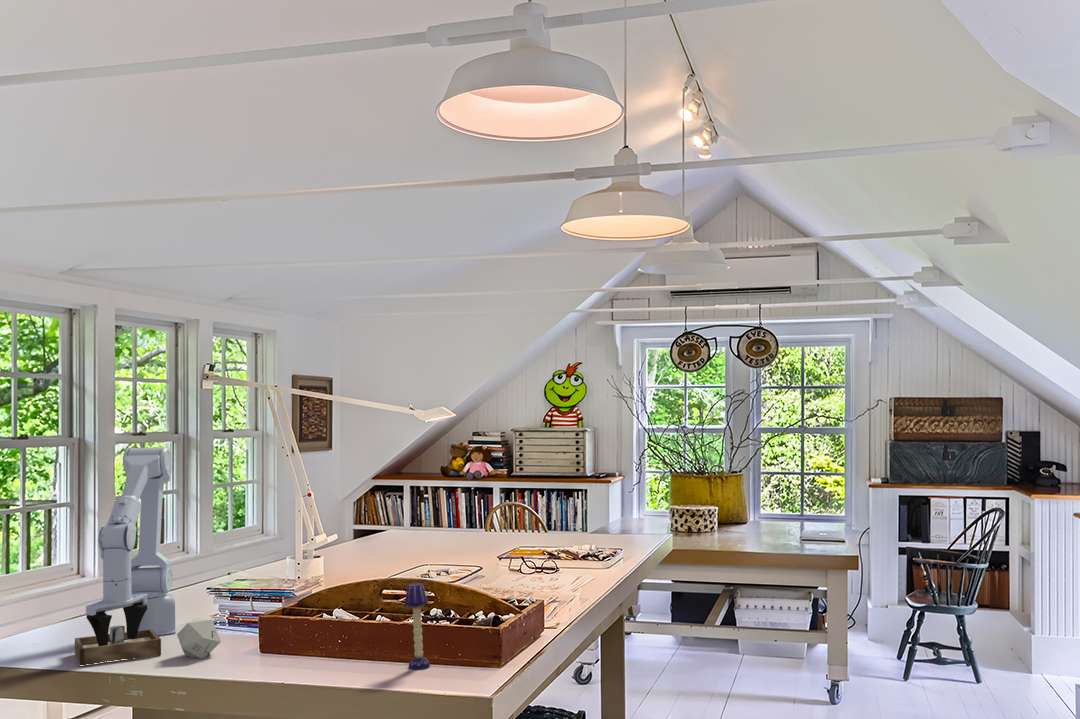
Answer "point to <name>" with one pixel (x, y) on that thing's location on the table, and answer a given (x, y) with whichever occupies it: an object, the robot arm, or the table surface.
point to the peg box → (118, 648)
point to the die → (198, 638)
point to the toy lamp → (417, 623)
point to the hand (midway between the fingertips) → (117, 642)
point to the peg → (117, 635)
